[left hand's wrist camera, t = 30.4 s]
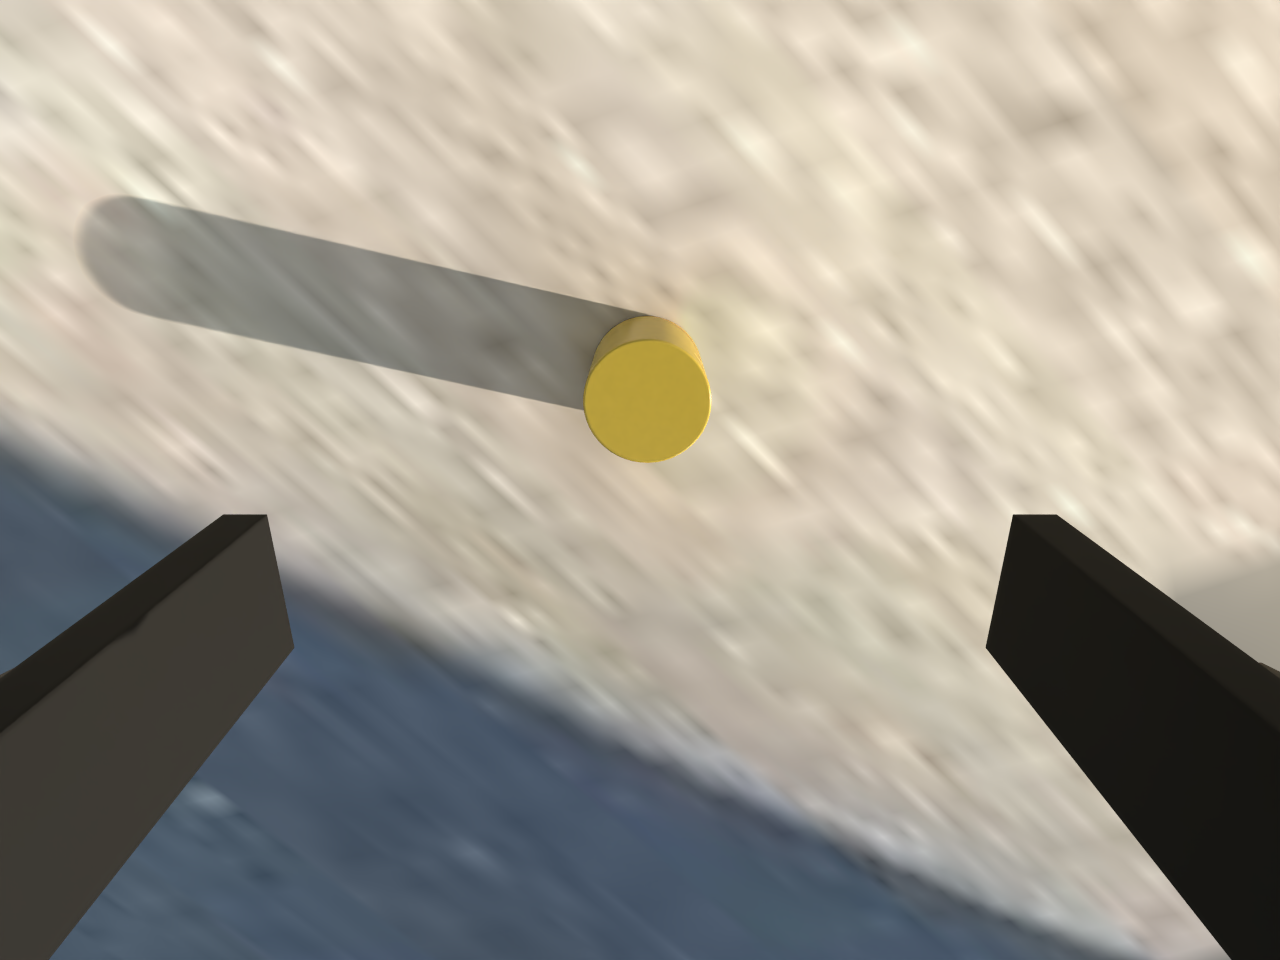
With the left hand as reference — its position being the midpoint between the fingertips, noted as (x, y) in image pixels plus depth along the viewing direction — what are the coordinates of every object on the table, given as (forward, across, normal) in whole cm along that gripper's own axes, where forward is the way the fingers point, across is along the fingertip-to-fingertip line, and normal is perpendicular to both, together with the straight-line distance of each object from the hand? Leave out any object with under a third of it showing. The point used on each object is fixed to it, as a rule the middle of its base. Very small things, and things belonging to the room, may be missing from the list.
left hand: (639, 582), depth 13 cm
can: (+14, 0, -1) cm, 14 cm away
